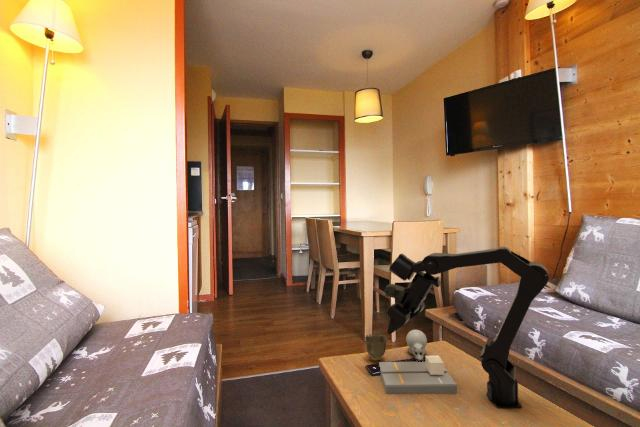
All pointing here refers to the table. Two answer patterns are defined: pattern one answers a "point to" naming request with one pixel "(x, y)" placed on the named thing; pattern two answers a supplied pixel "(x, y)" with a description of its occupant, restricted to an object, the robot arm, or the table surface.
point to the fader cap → (434, 365)
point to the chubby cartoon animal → (416, 343)
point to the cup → (375, 346)
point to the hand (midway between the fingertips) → (394, 328)
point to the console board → (414, 379)
